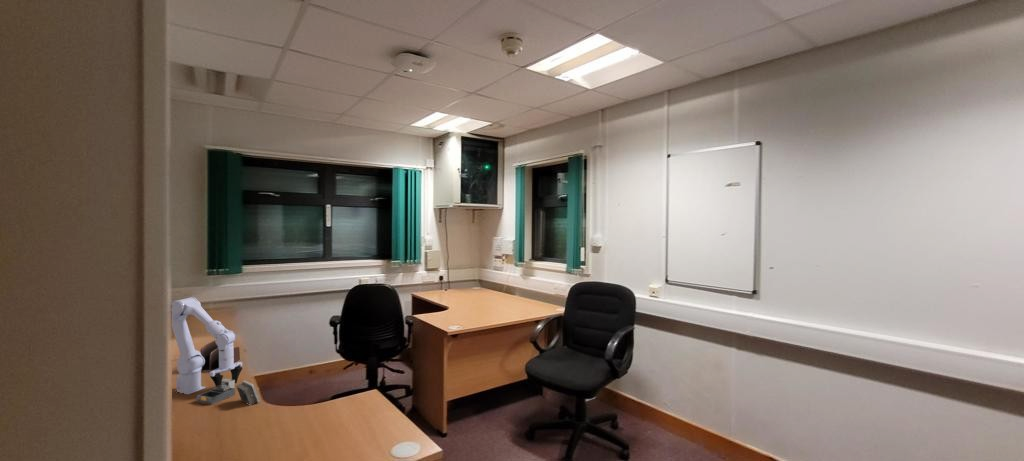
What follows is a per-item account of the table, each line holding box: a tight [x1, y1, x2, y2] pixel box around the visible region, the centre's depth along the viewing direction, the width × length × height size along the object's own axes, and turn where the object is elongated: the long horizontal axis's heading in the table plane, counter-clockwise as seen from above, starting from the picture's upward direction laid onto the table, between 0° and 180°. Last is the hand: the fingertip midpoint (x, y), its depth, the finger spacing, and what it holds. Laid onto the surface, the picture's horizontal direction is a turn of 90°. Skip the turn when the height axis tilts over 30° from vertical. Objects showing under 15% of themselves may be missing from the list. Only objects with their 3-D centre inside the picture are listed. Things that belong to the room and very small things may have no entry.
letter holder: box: [199, 340, 241, 373], centre depth 222 cm, size 10×20×14 cm, turn 7°
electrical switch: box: [236, 380, 260, 406], centre depth 176 cm, size 9×5×9 cm, turn 57°
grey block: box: [222, 378, 236, 388], centre depth 189 cm, size 6×3×5 cm, turn 73°
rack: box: [196, 385, 236, 406], centre depth 180 cm, size 9×11×4 cm
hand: (226, 386), depth 189 cm, fingers open, 7 cm apart
